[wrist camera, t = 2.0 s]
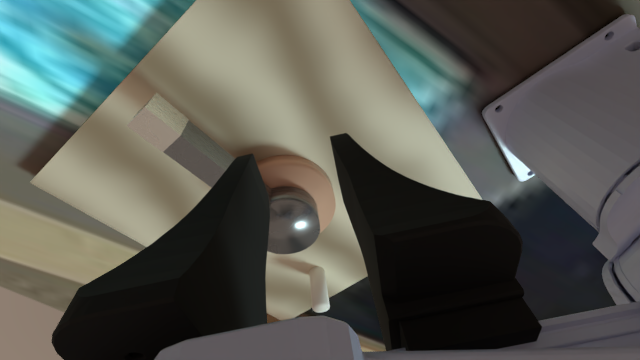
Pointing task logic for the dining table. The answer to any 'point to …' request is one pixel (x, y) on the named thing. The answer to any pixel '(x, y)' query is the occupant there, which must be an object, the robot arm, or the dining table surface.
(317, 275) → the post
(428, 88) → the dining table surface
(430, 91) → the dining table surface
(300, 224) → the grey bar
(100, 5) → the dining table surface
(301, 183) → the peach round disc
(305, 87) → the board
